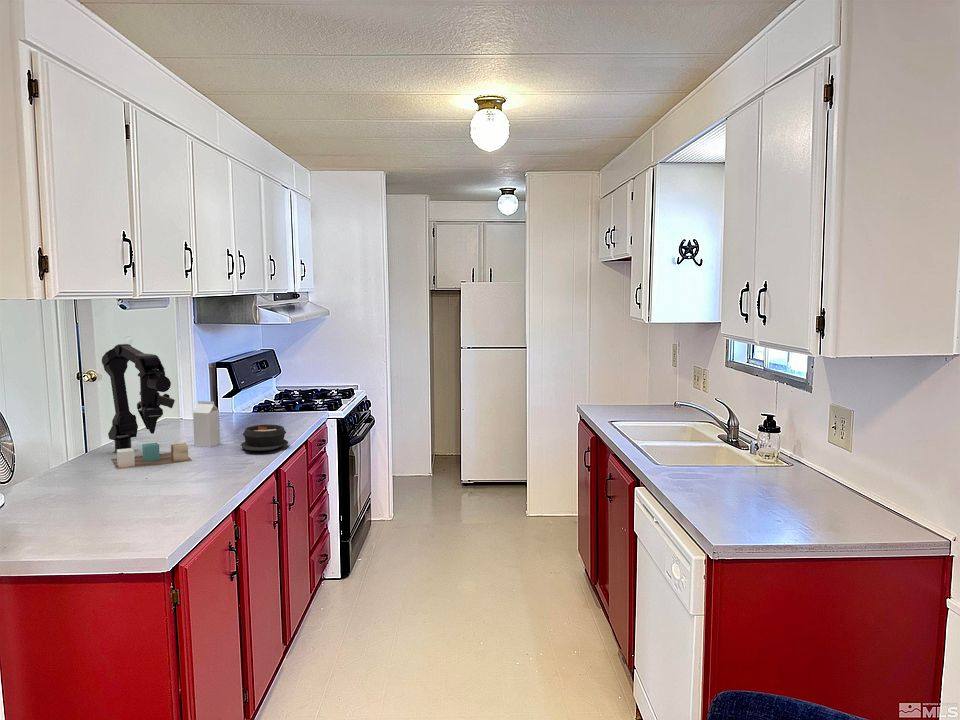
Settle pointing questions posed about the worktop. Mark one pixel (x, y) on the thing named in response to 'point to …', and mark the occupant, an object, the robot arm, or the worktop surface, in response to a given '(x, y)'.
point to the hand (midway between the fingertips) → (150, 431)
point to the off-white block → (125, 457)
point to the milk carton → (206, 424)
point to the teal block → (150, 452)
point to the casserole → (264, 437)
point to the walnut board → (139, 462)
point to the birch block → (179, 451)
